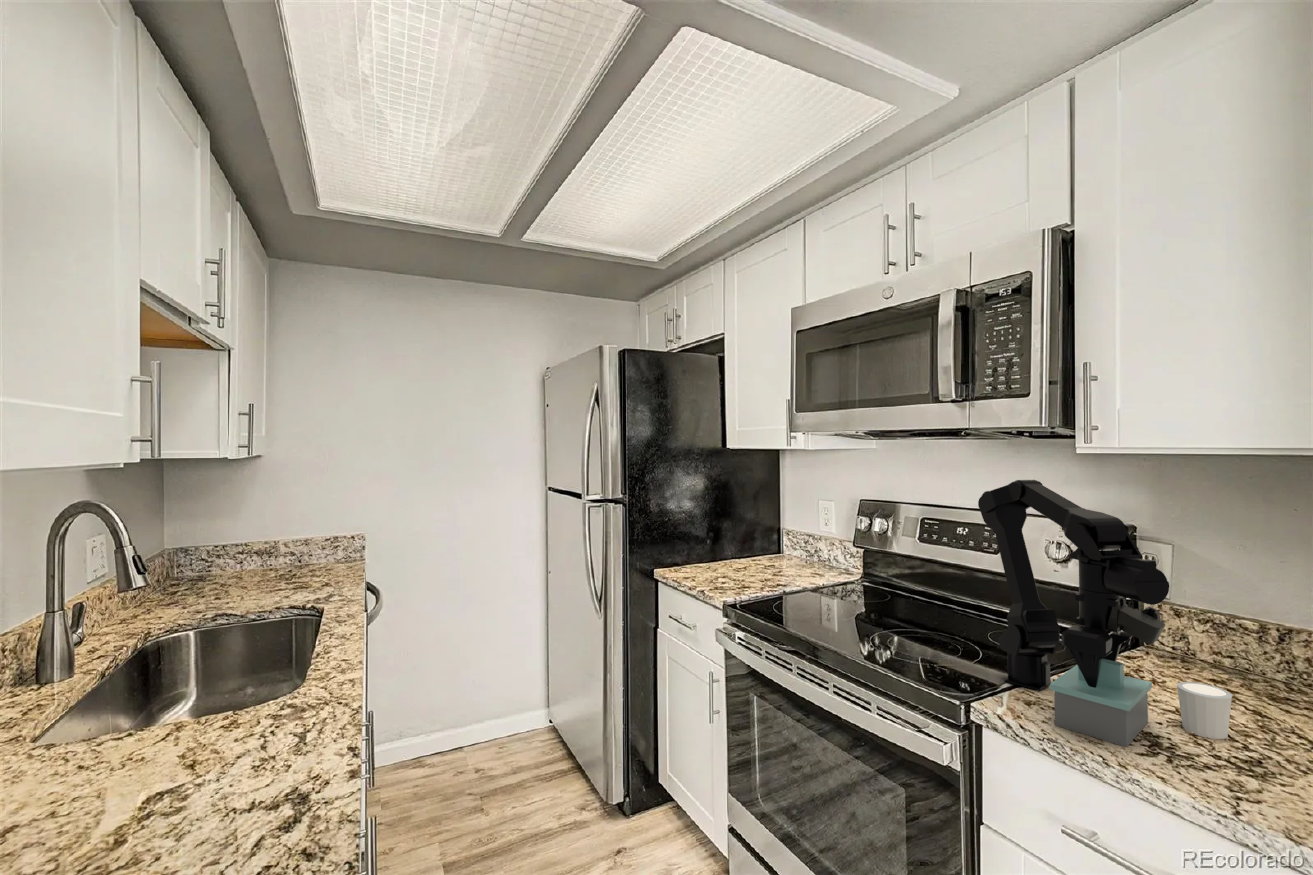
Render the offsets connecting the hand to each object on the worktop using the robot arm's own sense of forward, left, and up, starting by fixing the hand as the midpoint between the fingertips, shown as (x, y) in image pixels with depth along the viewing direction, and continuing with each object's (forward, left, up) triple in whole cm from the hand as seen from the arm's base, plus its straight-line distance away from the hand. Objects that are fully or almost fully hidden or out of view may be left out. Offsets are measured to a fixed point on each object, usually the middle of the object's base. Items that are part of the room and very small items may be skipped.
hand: (1100, 680), depth 104 cm
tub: (0, 0, -8) cm, 8 cm away
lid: (0, 0, -2) cm, 2 cm away
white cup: (+12, +10, -8) cm, 17 cm away
